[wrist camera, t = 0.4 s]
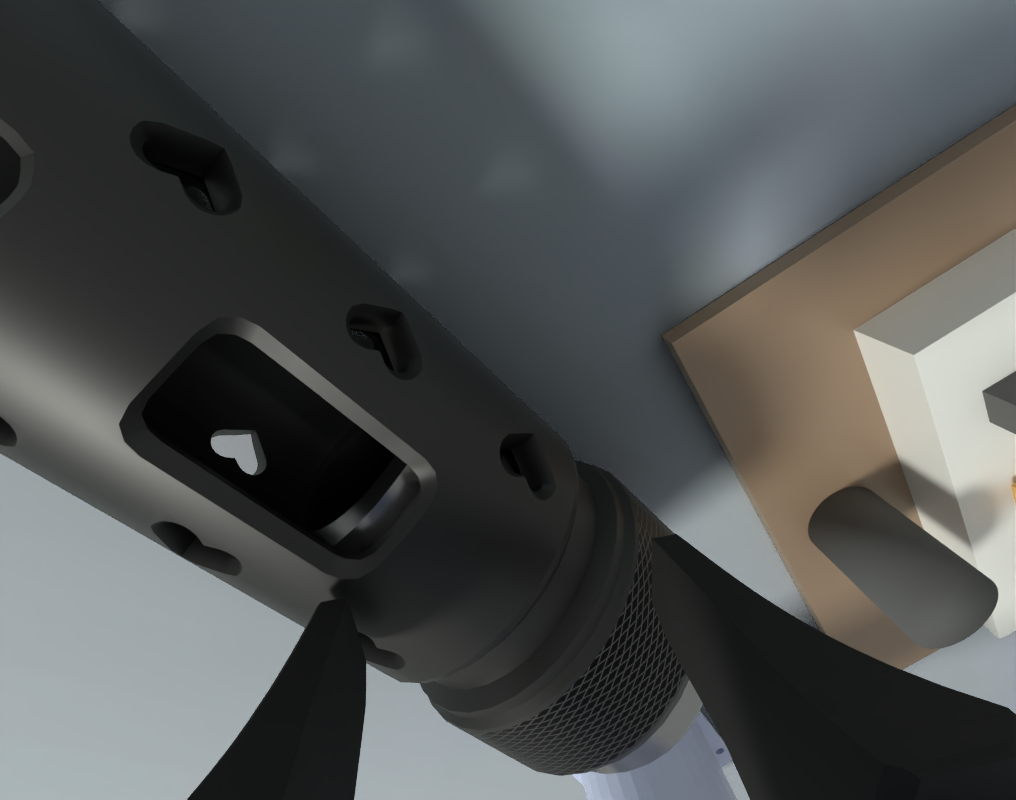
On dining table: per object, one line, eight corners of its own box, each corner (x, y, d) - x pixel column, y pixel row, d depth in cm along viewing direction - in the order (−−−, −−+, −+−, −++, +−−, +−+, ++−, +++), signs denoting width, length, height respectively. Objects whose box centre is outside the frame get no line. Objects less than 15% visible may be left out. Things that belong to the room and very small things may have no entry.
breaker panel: (1167, 499, 32) (1308, 565, 27) (846, 679, 34) (922, 772, 29) (1135, 25, 21) (1367, -12, 16) (661, 335, 23) (732, 389, 18)
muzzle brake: (29, -55, 16) (-375, -531, 6) (623, 502, 27) (799, 631, 17) (-225, 193, 15) (-1088, 76, 6) (490, 658, 26) (597, 880, 17)
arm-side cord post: (887, 523, 27) (1005, 616, 22) (821, 562, 28) (921, 663, 22) (867, 472, 26) (989, 559, 20) (797, 514, 26) (899, 610, 21)
